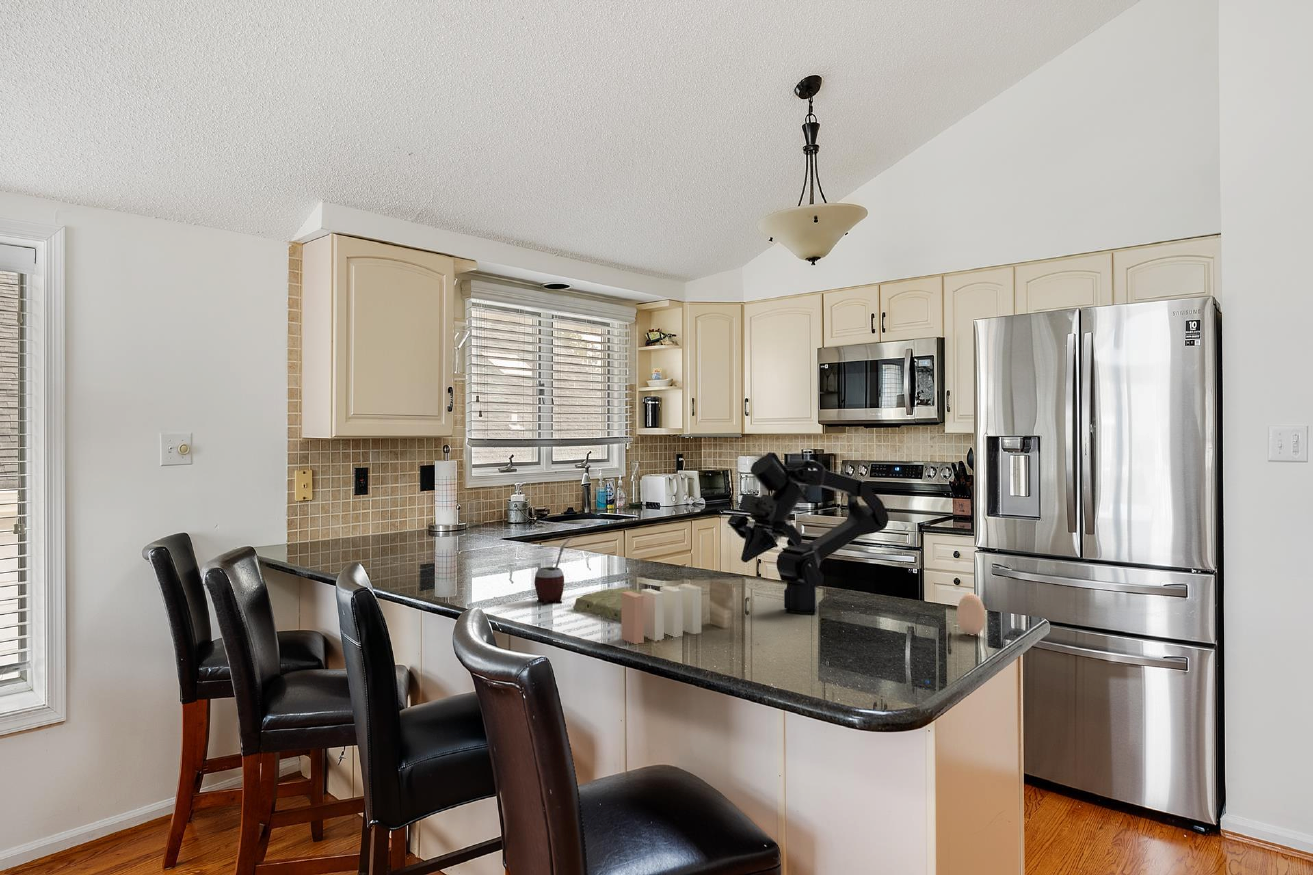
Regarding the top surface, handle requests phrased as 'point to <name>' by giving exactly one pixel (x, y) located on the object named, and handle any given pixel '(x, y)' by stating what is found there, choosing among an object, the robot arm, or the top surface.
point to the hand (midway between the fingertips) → (743, 561)
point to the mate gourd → (550, 582)
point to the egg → (971, 614)
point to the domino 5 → (721, 603)
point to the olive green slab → (603, 603)
